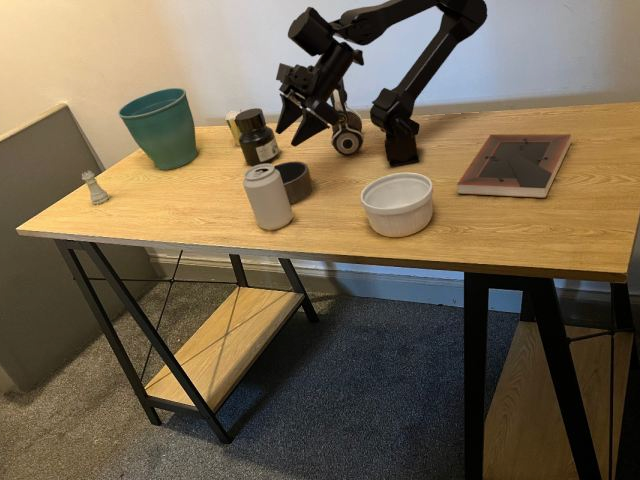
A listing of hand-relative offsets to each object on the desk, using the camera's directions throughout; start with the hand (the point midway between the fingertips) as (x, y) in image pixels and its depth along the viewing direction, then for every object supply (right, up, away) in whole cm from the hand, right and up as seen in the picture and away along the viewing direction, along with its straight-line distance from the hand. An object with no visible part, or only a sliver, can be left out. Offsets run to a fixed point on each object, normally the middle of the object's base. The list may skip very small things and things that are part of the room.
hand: (284, 139), depth 115 cm
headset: (+13, +5, +26) cm, 30 cm away
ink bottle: (-9, +3, +32) cm, 34 cm away
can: (-2, -16, +4) cm, 17 cm away
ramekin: (+23, -17, -7) cm, 30 cm away
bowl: (-1, -9, +13) cm, 16 cm away
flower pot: (-35, +5, +45) cm, 57 cm away
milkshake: (-16, +10, +44) cm, 48 cm away
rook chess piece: (-51, -7, +34) cm, 62 cm away
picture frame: (+46, -6, 0) cm, 46 cm away
